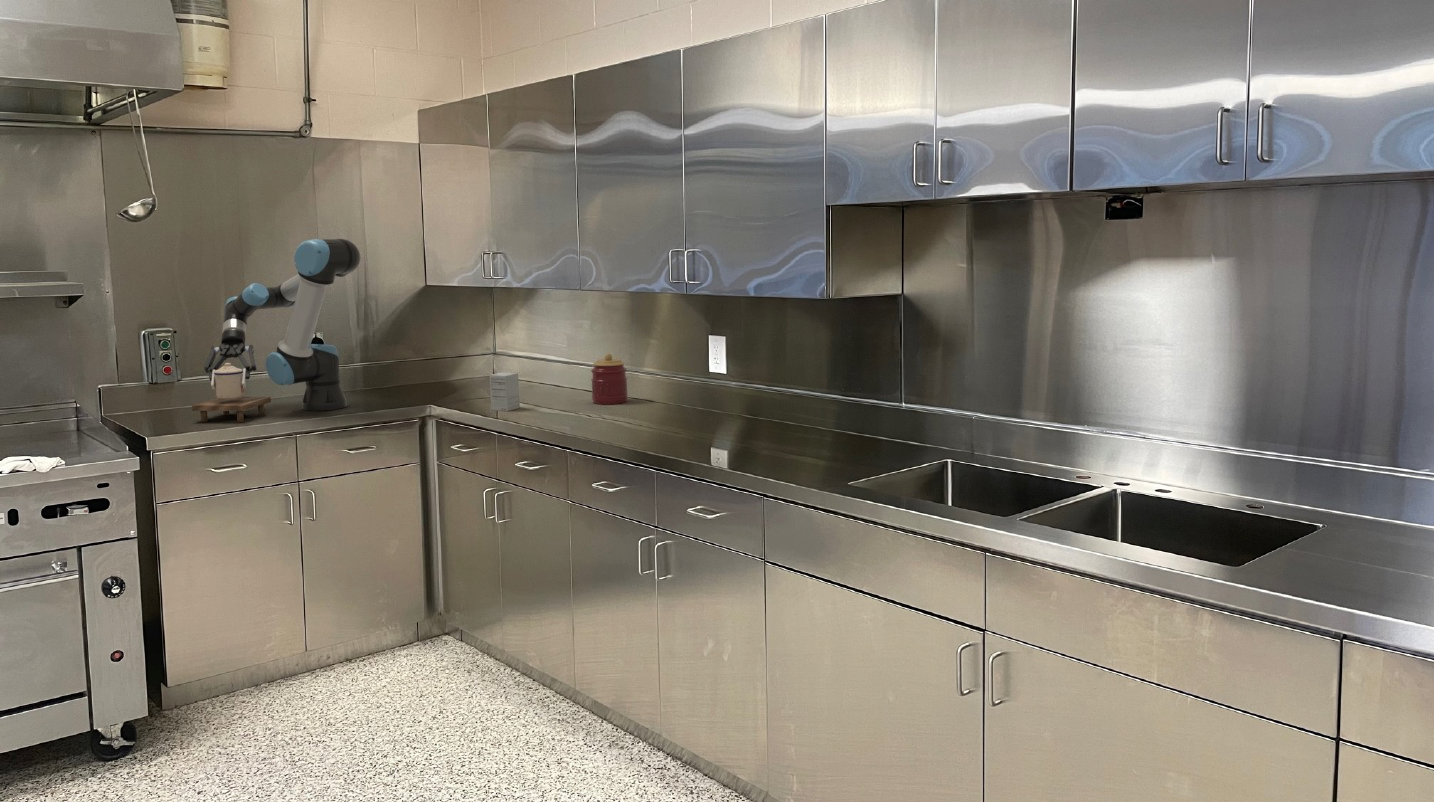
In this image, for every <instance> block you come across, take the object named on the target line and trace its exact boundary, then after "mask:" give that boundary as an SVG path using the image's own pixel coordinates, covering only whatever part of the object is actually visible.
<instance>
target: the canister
mask: <svg viewBox="0 0 1434 802" xmlns="http://www.w3.org/2000/svg"><path fill="white" fill-rule="evenodd" d="M624 364H625V362H624V361H623V360H621V359H619V358H613V355H612V354H611V353H606V354H605V356H604V358H601V359H597V360H595V362H593V363H592V365H593V368H591V369H590V372H591V373H592V378H591V379H590V380H591V381H590V382H591V392H592V393H591V394H592V395H591V400H592V403H594V404H597V405H615V404H616V405H619V404H624V403H626V402H628V398H629V396H628V395H629V394H628V377H627V374H626V372H627V370H628V369H627V368H626V367H625V366H624Z"/></svg>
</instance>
